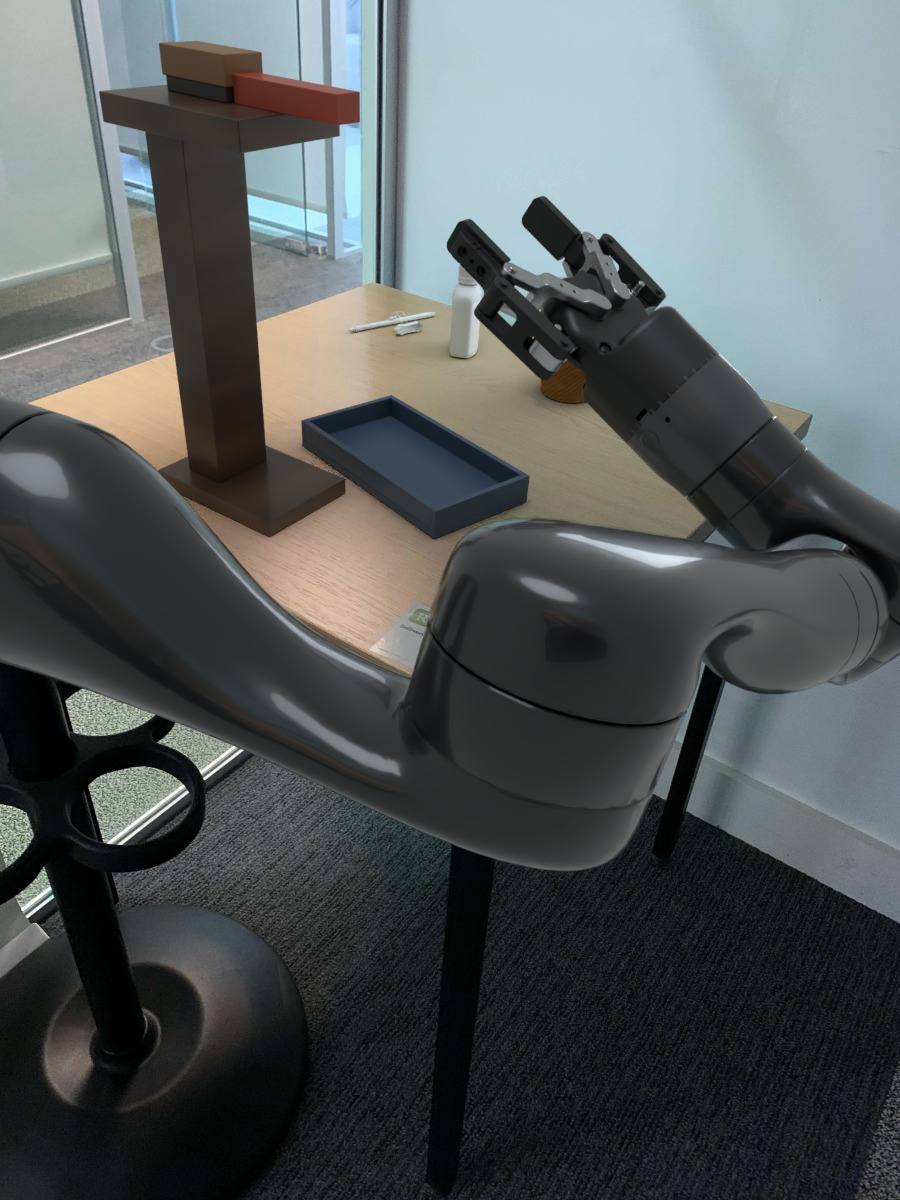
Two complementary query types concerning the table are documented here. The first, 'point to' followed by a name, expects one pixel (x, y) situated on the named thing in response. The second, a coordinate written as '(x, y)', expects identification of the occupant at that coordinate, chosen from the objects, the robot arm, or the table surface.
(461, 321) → the eye dropper bottle
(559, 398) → the disposable coffee cup
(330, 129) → the shelf stand
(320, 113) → the brush
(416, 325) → the picture light
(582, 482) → the table surface
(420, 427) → the tray
